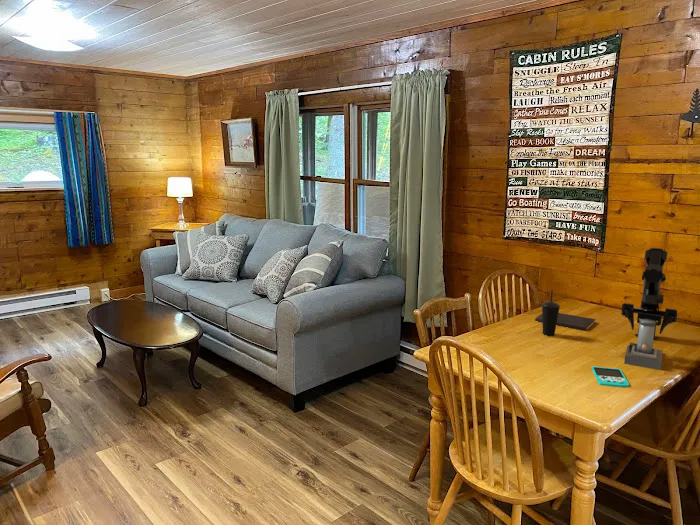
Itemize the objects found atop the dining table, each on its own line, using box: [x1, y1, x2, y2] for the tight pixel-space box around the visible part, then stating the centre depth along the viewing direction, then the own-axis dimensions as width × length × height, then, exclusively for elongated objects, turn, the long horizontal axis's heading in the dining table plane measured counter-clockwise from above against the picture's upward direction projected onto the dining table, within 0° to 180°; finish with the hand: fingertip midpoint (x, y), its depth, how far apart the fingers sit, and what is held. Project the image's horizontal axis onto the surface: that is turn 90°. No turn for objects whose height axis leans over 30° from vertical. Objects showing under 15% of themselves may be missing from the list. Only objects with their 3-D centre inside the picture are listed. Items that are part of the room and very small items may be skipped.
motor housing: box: [623, 341, 663, 371], centre depth 208 cm, size 20×12×6 cm, turn 150°
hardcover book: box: [534, 312, 596, 332], centre depth 254 cm, size 16×23×2 cm
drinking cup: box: [541, 289, 561, 337], centre depth 234 cm, size 8×8×20 cm
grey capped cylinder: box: [636, 318, 657, 354], centre depth 202 cm, size 8×5×13 cm, turn 150°
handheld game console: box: [591, 365, 630, 388], centre depth 190 cm, size 10×16×1 cm, turn 165°
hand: (646, 331), depth 205 cm, fingers open, 9 cm apart
